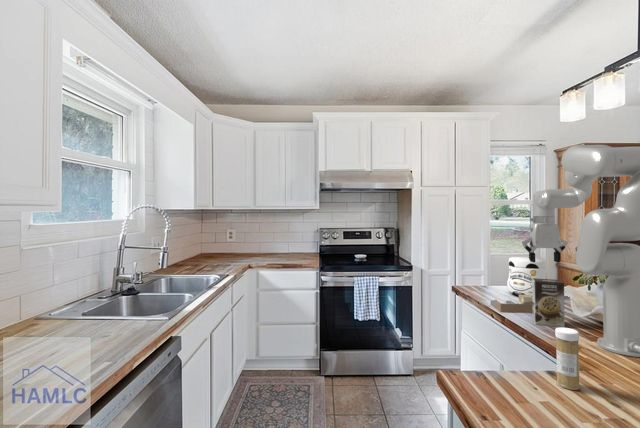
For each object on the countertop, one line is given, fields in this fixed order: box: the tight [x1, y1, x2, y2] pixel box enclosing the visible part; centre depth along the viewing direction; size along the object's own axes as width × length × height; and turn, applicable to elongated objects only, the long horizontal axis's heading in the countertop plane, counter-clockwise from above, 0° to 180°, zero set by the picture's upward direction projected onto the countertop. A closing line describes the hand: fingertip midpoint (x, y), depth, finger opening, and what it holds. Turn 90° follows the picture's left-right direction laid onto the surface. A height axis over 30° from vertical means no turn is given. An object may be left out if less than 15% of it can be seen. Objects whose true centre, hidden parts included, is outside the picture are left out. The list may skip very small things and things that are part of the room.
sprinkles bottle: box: [554, 326, 581, 391], centre depth 80 cm, size 5×5×14 cm
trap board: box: [490, 299, 532, 314], centre depth 141 cm, size 11×15×4 cm
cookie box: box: [531, 278, 565, 328], centre depth 123 cm, size 9×6×16 cm
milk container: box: [506, 256, 547, 297], centre depth 163 cm, size 17×17×18 cm
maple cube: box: [518, 295, 532, 304], centre depth 139 cm, size 4×4×4 cm
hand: (544, 261), depth 138 cm, fingers open, 9 cm apart
